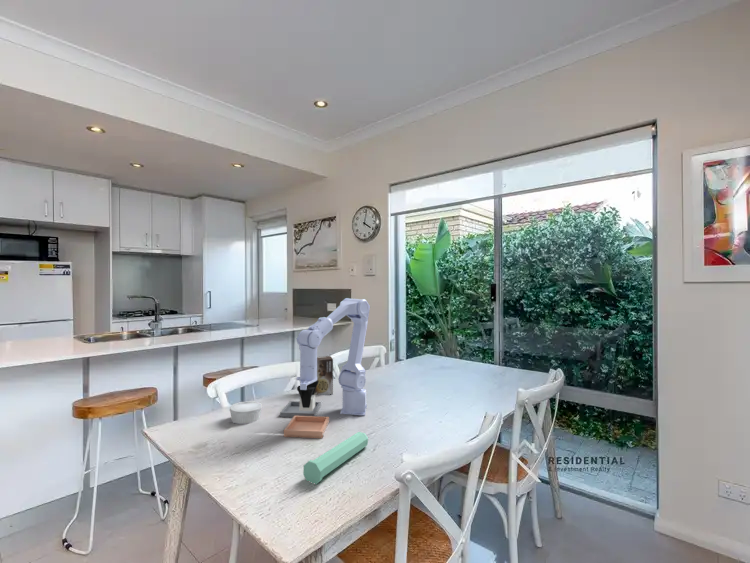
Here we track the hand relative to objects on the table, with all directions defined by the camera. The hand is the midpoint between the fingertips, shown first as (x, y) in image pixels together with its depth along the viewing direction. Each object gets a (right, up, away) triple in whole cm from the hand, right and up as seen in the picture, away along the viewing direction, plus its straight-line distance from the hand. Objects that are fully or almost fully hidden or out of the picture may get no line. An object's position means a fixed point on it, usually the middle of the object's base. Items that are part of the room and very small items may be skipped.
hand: (307, 404), depth 124 cm
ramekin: (-24, -8, +7) cm, 26 cm away
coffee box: (-1, -8, +39) cm, 40 cm away
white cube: (0, -1, 0) cm, 1 cm away
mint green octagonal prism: (+13, -9, -21) cm, 27 cm away
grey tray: (-5, -8, +15) cm, 18 cm away
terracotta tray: (0, -9, 0) cm, 8 cm away
